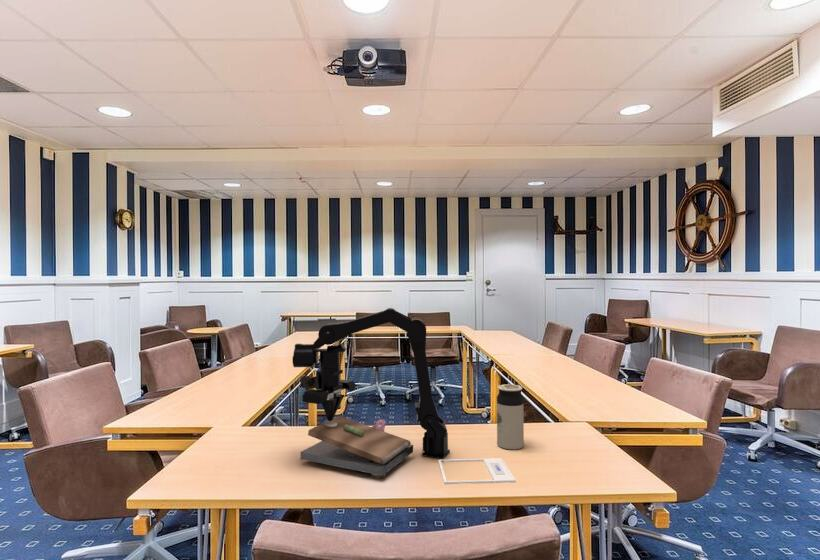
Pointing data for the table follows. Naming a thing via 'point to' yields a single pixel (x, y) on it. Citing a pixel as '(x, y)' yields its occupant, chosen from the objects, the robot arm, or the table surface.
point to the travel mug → (510, 417)
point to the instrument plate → (360, 439)
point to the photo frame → (494, 467)
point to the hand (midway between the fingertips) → (330, 420)
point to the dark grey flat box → (351, 459)
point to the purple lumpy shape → (380, 425)
